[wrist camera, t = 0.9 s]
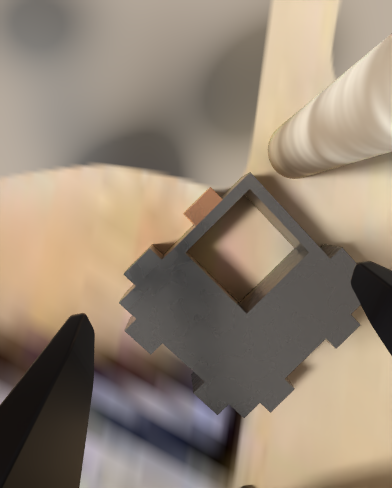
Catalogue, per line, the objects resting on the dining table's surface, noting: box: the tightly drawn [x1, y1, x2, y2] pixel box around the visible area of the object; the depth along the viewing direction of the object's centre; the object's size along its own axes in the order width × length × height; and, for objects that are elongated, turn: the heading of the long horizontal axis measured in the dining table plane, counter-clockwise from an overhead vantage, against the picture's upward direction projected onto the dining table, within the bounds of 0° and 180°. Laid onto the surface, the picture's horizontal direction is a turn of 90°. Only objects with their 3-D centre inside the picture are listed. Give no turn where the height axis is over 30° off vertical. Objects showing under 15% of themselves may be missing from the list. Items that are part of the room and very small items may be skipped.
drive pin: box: [268, 34, 392, 179], centre depth 16 cm, size 4×4×14 cm
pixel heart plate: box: [119, 172, 361, 418], centre depth 22 cm, size 15×15×2 cm
